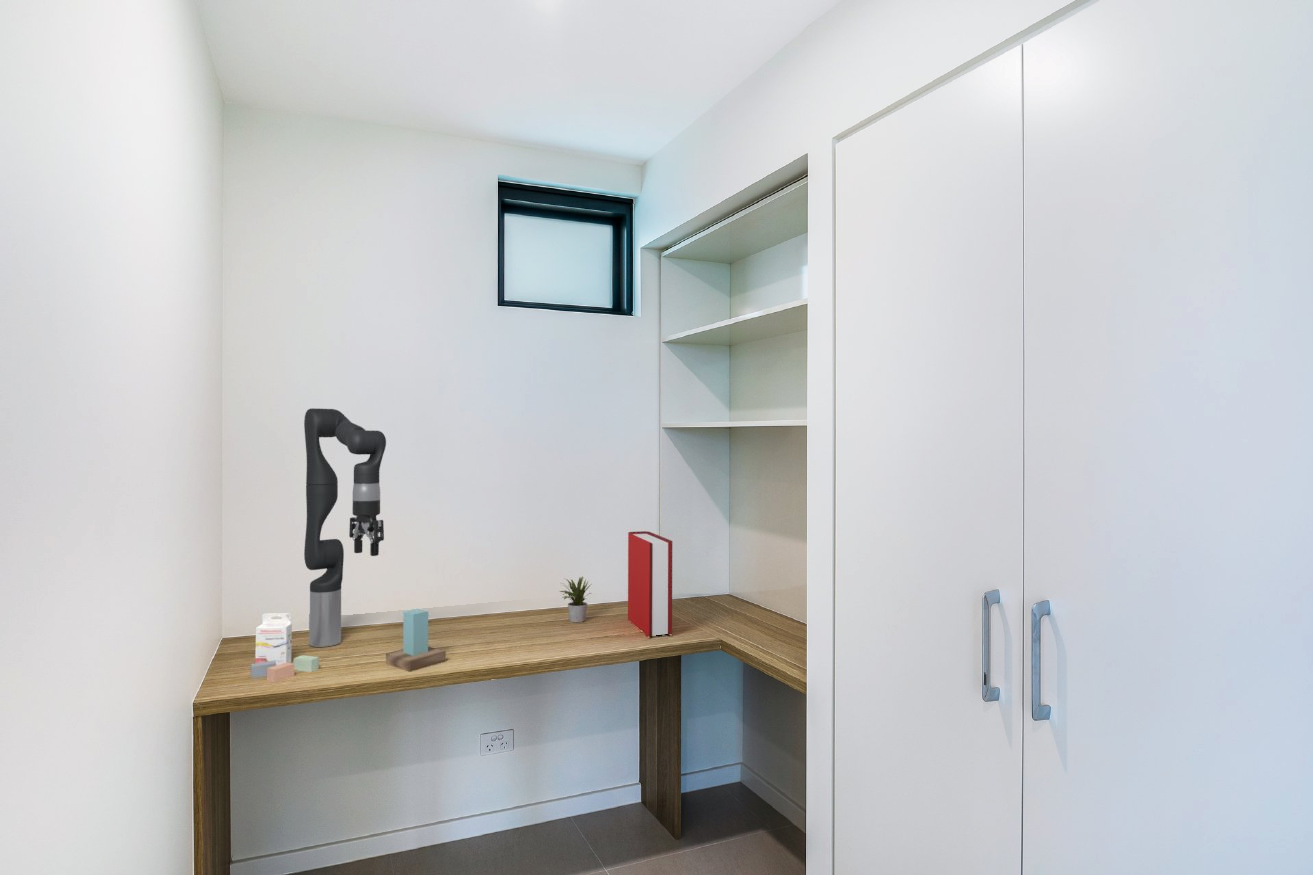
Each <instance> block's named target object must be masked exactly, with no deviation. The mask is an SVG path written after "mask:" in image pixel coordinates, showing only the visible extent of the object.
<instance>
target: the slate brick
mask: <svg viewBox="0 0 1313 875" xmlns="http://www.w3.org/2000/svg"><path fill="white" fill-rule="evenodd" d="M273 666H276V661H275V660H274V661H267V662H260V663H255V662H254V663H250V678H251V679H252V678H254V679H260V678H267V668H270V667H273Z"/></svg>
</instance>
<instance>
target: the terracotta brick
mask: <svg viewBox="0 0 1313 875" xmlns="http://www.w3.org/2000/svg"><path fill="white" fill-rule="evenodd" d="M294 676H295V670H294V662H291V663H289V662H286V663H283V664H280V665H276V666H273V667H270V668H267V677H266V678H267V681H268V682H272V683H276V682H277V683H278V682H279V681H283V680H285V679H289V678H292V677H294Z"/></svg>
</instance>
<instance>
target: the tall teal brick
mask: <svg viewBox="0 0 1313 875" xmlns="http://www.w3.org/2000/svg"><path fill="white" fill-rule="evenodd" d="M402 618H403V620H402V622H403V625H402V626H403V629H402V632H403V633H402V634H403V635H402V639H403V644H402V645H403V647H402V649H403V653H406V654H409V655H412V656H415V655H418V654H422V653H426V652H428V646H429V611H428V610H424V609H421V608H416V609H412V610H411V609H410V610H406V611H403V616H402Z"/></svg>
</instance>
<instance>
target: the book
mask: <svg viewBox="0 0 1313 875" xmlns="http://www.w3.org/2000/svg"><path fill="white" fill-rule="evenodd" d="M627 533H628V534H627V535H628V537H627V538H628V539H627V542H628V543H627V554H628V555H627V558H628V559H627V621H628V620H629V621H631V622H630V623H631V624H632V623H633V624H634V625H635V626H637V627H638V628H639V629H640V630H642V631H643V632H644V633H645V634H646V635H647V636H649V637H651V636H652V637H657V636H656V635H661V634H672V635H673V540H671V539H668V538H666V537H663V536H661V535H659V534H656V533H654V532H651V531H642V530H641V531H628V532H627ZM629 621H628V622H629ZM633 624H632V625H633ZM634 625H633V626H634ZM635 626H634V627H635ZM639 629H638V630H639ZM640 630H639V631H640ZM646 635H645V636H646ZM647 636H646V637H647ZM652 637H651V638H652Z"/></svg>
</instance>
